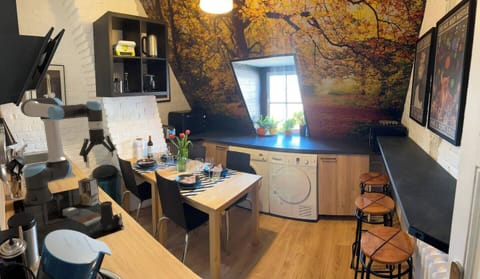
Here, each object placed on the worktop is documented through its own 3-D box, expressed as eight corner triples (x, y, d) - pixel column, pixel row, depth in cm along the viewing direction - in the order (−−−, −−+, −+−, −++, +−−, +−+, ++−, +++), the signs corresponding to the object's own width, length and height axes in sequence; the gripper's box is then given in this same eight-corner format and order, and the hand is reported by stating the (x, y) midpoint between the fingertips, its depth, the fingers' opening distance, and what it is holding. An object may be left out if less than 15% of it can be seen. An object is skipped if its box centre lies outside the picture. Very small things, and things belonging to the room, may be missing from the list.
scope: (121, 201, 151) (101, 207, 144) (123, 227, 153) (104, 234, 146) (114, 197, 156) (94, 203, 149) (116, 222, 159) (97, 229, 151)
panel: (60, 217, 166) (60, 215, 166) (81, 209, 176) (81, 207, 176) (86, 226, 154) (85, 224, 154) (106, 217, 165) (106, 215, 165)
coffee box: (100, 203, 185) (97, 178, 182) (92, 207, 179) (90, 181, 176) (88, 202, 187) (85, 177, 184) (80, 206, 181) (77, 180, 178)
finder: (63, 214, 166) (62, 209, 166) (71, 211, 171) (71, 206, 170) (69, 217, 163) (68, 211, 163) (78, 213, 168) (77, 208, 167)
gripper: (76, 131, 156) (80, 170, 160) (120, 126, 176) (122, 161, 180) (69, 130, 161) (74, 168, 164) (112, 125, 180) (115, 159, 184)
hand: (99, 165), depth 172 cm, fingers open, 13 cm apart
